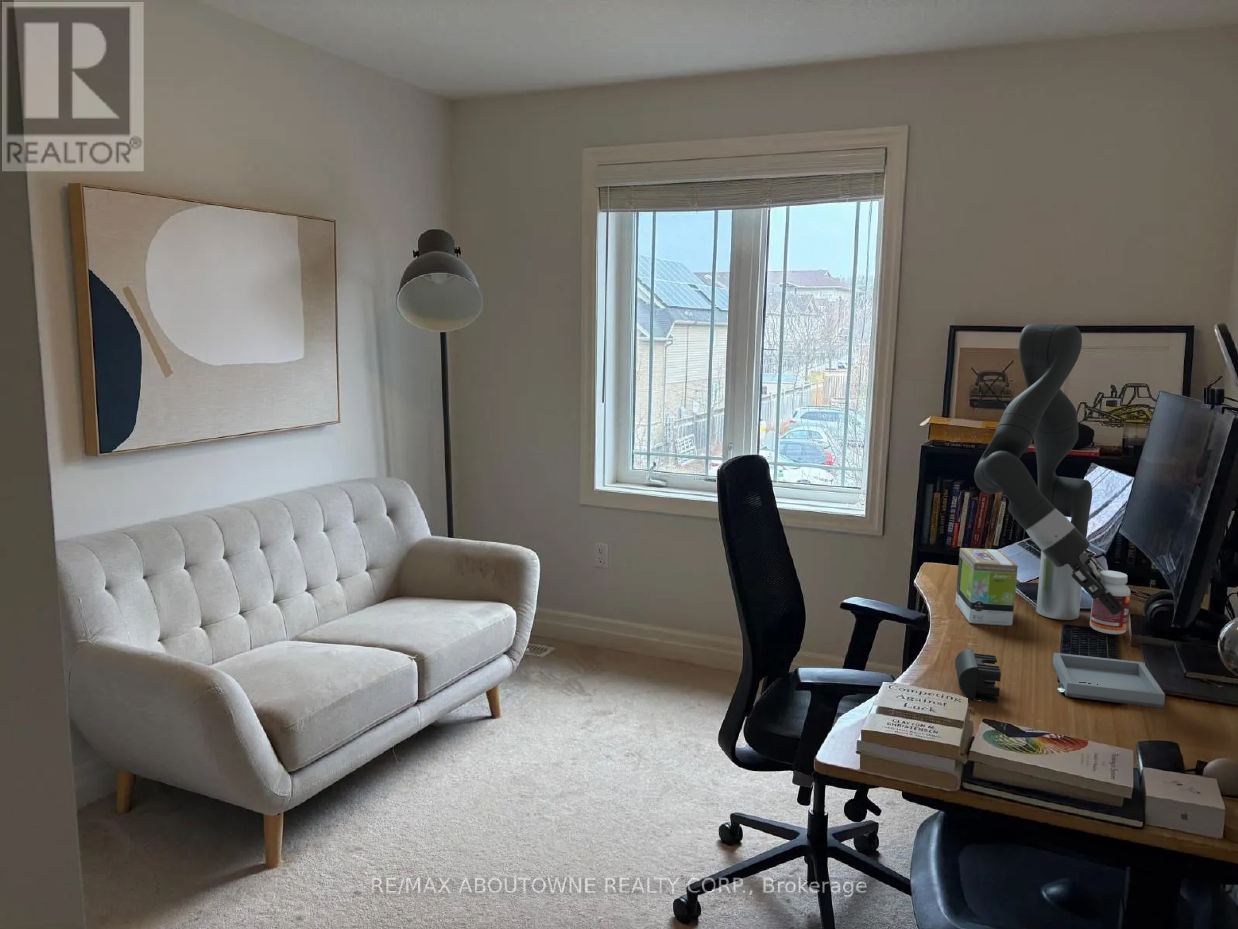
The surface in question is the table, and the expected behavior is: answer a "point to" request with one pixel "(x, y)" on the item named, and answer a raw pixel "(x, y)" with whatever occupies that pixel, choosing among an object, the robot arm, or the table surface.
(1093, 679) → the tray
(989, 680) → the end cap
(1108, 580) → the pill bottle
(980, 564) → the tea box
